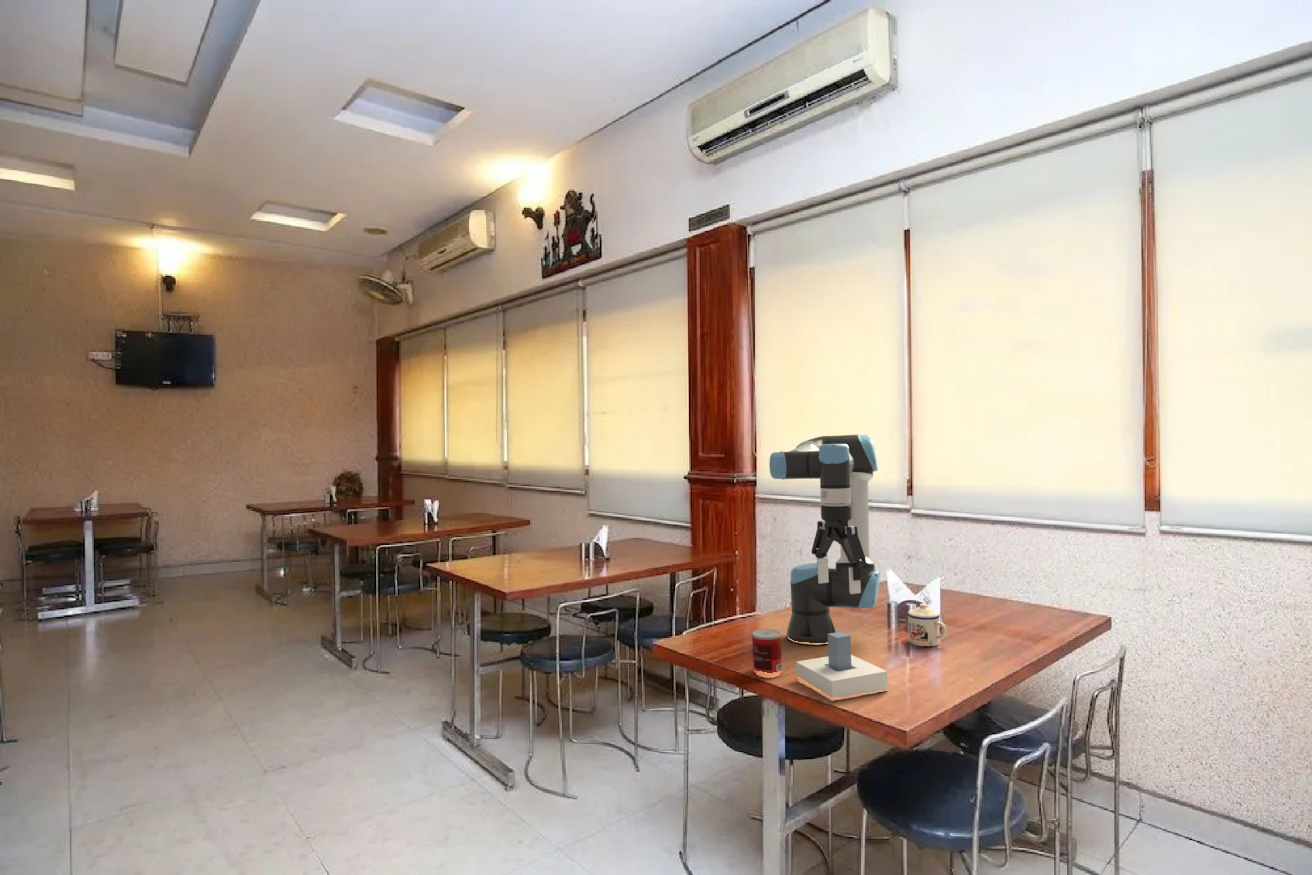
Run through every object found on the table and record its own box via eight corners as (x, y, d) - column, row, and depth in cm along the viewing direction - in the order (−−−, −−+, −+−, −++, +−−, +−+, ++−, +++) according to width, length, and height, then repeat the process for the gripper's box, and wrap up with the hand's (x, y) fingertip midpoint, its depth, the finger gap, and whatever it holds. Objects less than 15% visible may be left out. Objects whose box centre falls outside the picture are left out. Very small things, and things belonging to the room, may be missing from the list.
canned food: (778, 668, 190) (777, 628, 190) (785, 678, 182) (783, 636, 182) (751, 669, 189) (749, 629, 189) (756, 679, 181) (754, 637, 181)
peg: (829, 684, 176) (827, 633, 176) (842, 682, 177) (840, 631, 177) (838, 689, 172) (836, 637, 172) (852, 687, 174) (850, 635, 174)
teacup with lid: (902, 642, 209) (900, 603, 209) (920, 636, 214) (919, 599, 214) (937, 651, 199) (936, 611, 199) (955, 645, 204) (954, 606, 204)
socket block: (796, 680, 179) (796, 661, 179) (848, 671, 185) (847, 653, 185) (832, 701, 164) (832, 681, 164) (887, 691, 170) (887, 671, 170)
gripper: (796, 501, 186) (799, 580, 186) (853, 509, 162) (856, 599, 162) (820, 499, 188) (823, 577, 188) (879, 507, 165) (882, 596, 165)
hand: (838, 587), depth 175 cm, fingers open, 13 cm apart
